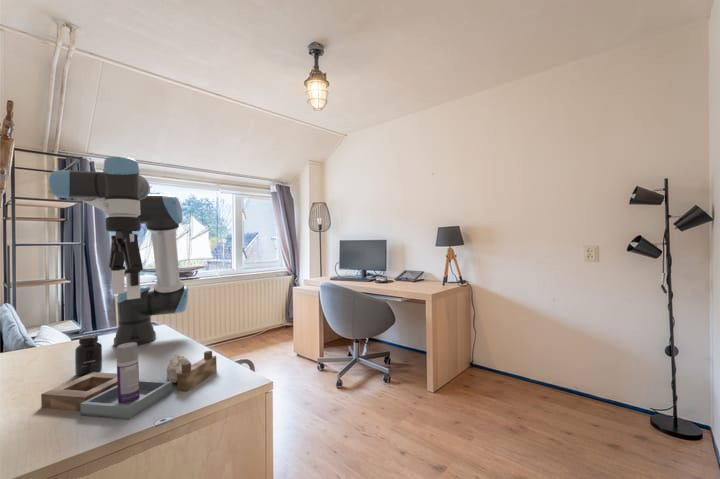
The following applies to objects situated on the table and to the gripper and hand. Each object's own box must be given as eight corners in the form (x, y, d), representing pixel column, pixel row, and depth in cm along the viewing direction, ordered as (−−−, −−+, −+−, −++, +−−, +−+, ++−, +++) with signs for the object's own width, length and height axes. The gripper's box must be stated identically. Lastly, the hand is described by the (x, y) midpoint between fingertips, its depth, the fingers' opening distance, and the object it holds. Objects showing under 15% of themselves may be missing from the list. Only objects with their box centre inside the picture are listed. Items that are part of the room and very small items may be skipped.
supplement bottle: (87, 377, 104) (85, 340, 104) (70, 376, 106) (68, 339, 106) (107, 368, 111) (106, 333, 111) (91, 367, 112) (90, 333, 112)
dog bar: (208, 370, 107) (207, 349, 107) (216, 371, 107) (216, 349, 107) (177, 390, 93) (176, 366, 93) (186, 391, 93) (185, 366, 93)
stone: (195, 383, 106) (193, 352, 110) (194, 377, 97) (192, 343, 101) (168, 389, 103) (167, 357, 107) (165, 384, 93) (164, 349, 97)
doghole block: (93, 383, 100) (93, 372, 100) (132, 385, 97) (132, 374, 97) (41, 407, 86) (41, 394, 86) (85, 410, 83) (85, 397, 83)
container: (120, 398, 88) (118, 343, 88) (141, 394, 90) (139, 341, 90) (116, 406, 84) (114, 349, 84) (137, 402, 86) (135, 346, 86)
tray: (129, 389, 95) (129, 379, 95) (171, 392, 93) (171, 381, 93) (80, 415, 81) (80, 403, 81) (128, 419, 79) (128, 407, 79)
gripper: (94, 218, 92) (96, 293, 92) (119, 212, 76) (122, 303, 76) (126, 219, 97) (128, 290, 98) (155, 214, 81) (158, 298, 81)
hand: (125, 296), depth 87 cm, fingers open, 13 cm apart
